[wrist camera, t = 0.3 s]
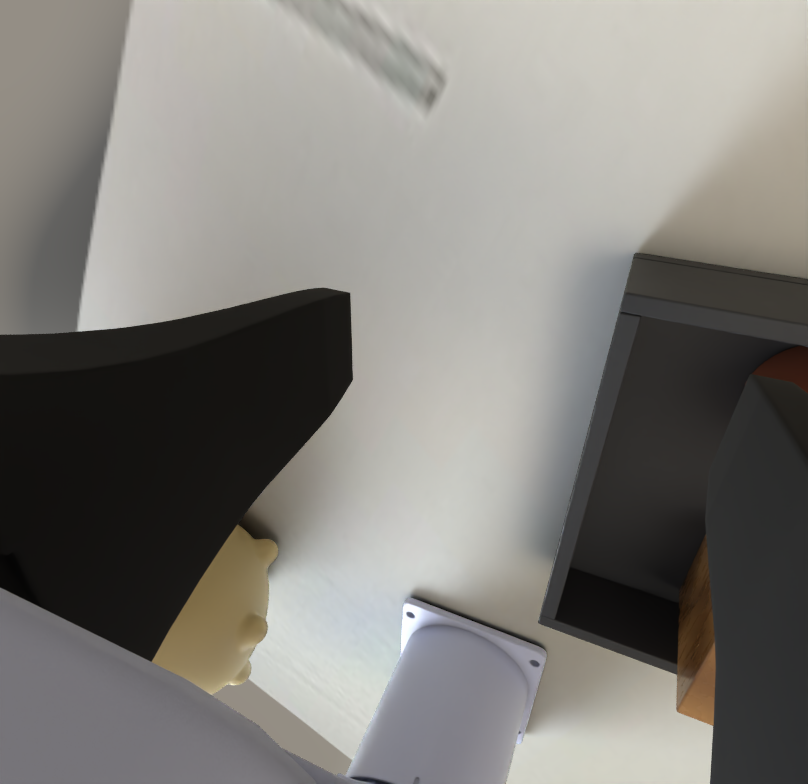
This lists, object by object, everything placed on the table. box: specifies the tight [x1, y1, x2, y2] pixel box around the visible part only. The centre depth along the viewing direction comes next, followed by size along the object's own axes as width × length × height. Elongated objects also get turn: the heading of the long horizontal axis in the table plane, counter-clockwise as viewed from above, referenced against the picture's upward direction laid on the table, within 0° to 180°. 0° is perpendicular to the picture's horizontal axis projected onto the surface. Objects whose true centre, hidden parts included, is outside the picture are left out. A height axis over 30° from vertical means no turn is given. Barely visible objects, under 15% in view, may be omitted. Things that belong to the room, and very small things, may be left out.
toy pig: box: [152, 525, 278, 695], centre depth 33 cm, size 10×12×11 cm
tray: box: [538, 253, 808, 674], centre depth 19 cm, size 15×14×4 cm
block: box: [676, 535, 716, 726], centre depth 20 cm, size 5×5×5 cm
